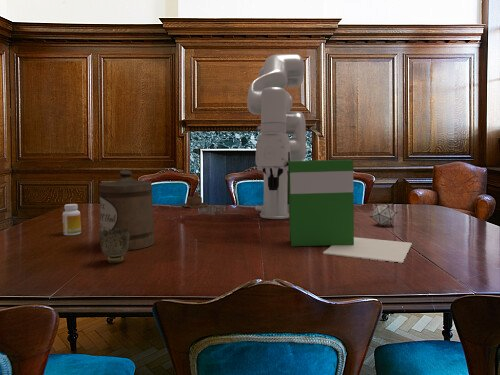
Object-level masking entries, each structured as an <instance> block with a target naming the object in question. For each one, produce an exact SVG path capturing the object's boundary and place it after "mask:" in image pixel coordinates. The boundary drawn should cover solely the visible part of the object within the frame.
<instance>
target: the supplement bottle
mask: <svg viewBox="0 0 500 375" xmlns="http://www.w3.org/2000/svg"><path fill="white" fill-rule="evenodd" d="M63 208H64V210H65V211H63V212H62V229H63V230H62V233H63V235H64V236H76V235H80V234H81V233H82V222H81V220H82V219H81V218H82V216H81V212H80V210H78V209H79V206H78V203H68V204H67V203H66V204H64V207H63Z"/></svg>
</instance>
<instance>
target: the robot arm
mask: <svg viewBox="0 0 500 375" xmlns="http://www.w3.org/2000/svg"><path fill="white" fill-rule="evenodd" d="M304 74H305V62H304V59H303V57H302V56H301V55H300V54H296V53H288V54H287V53H286V54H283V53H281V54H271V55H270V56H268V57H267V58H266V59H265V61H264V64H263V66H262V67H261V68H260V69H259V71H258V77H257V78H256V79H254V80H253V81H252V82H251V84H250V85H249V87H248V93H247V98H246V104H247V105H246V106H247V110H248V112H250V114H252V115H257V116H258V115H259V116H260V122H261V123H260V125H259V126H258V125H257V127H256V128H257V129H256V130H257V131H260V134H258V136H257V141H256V145H255V146H256V147H255V159H254V160H255V161H254V162H255V165H256V170H257V171H259V172H263V204H262V205H255V211H257V212H258V211H259V212H260V213H259V217H260V218H263V219H268V220H269V219H270V220H282V219H283V220H285V219H289V211H288V183H289V182H288V161H305V158H306V153H307V138H306V137H307V132H306V131H307V129H306V128H307V127H306V125H307V124H306V116H305V115H304V113H303V112H301V111H300V110H299V111H298V110H291V109H293V97H292V95H291V94H290V93H289V92H288V91H287V90H286V89H285V88H296V87H301V85H302V84H303V81H304ZM289 136H293V137H289Z"/></svg>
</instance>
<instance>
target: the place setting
mask: <svg viewBox="0 0 500 375" xmlns="http://www.w3.org/2000/svg"><path fill="white" fill-rule="evenodd" d="M199 194H200V192H199V191H194V192H193V196H188V197H187V198H186V202H185V203H182V204H181V207H182V206H184V207H190V208H189V209H203V208H202V207H204V208H206V209H209V208H213V207H214V205H212V204H211V205H209V206H208V203H206V202H203V198H202V197H201V196H200V195H199ZM185 205H188V206H185Z"/></svg>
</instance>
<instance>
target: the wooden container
mask: <svg viewBox="0 0 500 375" xmlns="http://www.w3.org/2000/svg"><path fill="white" fill-rule="evenodd" d="M132 175H133V173H132V171H131V170H129V169H125V168H124V169H121V171H119V176H120V177H119V178H118V179H117V180H116V181H108V182H106V181H105V182H101V183H99V184H98V191H99V193H98V194H99V217H100V218H99V220H100V221H99V223H100V225H99V226H100V231H102V230H103V229H105V230H107V231H108V230H109V228H110V229H111V231H113V229H114V228H116V229H118V228H120V229H121V231H122V229H123V228H124V229H125V230H126V229H127V228H128V229H129V230H130V238H129V247H128V250H127V251H134V250H135V251H136V250H143V249H146V248H148V247H151V246H153V245H154V244H155V228H154V227H155V226H154V225H155V221H154V209H153V208H154V207H153V206H154V205H153V204H154V203H153V190H152V189H153V184H152V181H144V180H142V181H141V180H135V179H133V178H132Z"/></svg>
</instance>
